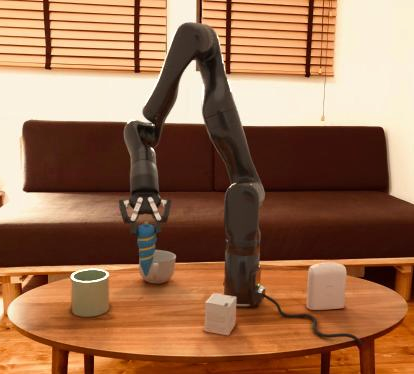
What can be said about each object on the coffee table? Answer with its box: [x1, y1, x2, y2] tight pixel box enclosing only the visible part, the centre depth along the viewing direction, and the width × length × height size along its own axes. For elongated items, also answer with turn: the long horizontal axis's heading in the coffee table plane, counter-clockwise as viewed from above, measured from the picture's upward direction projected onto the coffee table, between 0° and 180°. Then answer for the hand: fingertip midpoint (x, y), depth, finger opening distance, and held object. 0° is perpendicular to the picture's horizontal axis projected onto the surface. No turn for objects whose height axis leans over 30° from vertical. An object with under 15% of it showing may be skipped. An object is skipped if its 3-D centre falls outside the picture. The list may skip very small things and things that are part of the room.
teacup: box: [138, 249, 177, 284], centre depth 137 cm, size 14×11×8 cm
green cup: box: [70, 268, 110, 318], centre depth 118 cm, size 9×9×9 cm
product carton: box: [203, 292, 237, 336], centre depth 110 cm, size 6×6×7 cm
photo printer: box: [306, 261, 347, 311], centre depth 123 cm, size 10×4×12 cm, turn 100°
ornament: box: [136, 219, 158, 276], centre depth 118 cm, size 5×5×15 cm
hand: (146, 235), depth 116 cm, fingers closed on ornament, 5 cm apart
